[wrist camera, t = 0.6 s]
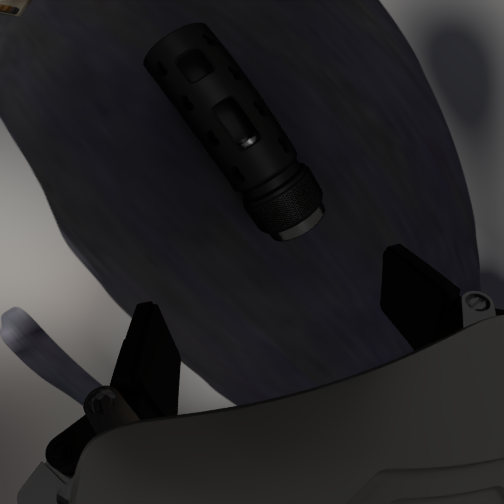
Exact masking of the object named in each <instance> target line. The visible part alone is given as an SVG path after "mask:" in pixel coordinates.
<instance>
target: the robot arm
mask: <svg viewBox="0 0 504 504" xmlns="http://www.w3.org/2000/svg"><path fill="white" fill-rule="evenodd" d="M459 294H460V289H459V288H458V287H457V286H455V285H454V284H453V283H452V282H450V281H449V280H448V279H447V278H445V277H444V276H443V275H442V274H440V273H439V272H438V271H436V270H435V269H434V268H432V267H431V266H430V265H428V264H427V263H426V262H424V261H423V260H422V259H420V258H419V257H418V256H416V255H415V254H414V253H412V252H411V251H409V250H408V249H407V248H405V247H404V246H402V245H401V244H396V245H392V246H389V247H387V248H386V251H384V253H383V271H382V287H381V300H380V306H381V309H382V311H383V312H384V314H385V315H386V316H387V317H388V318H389V319H390V321H391V322H392V323H393V324H394V326H395V327H396V328H397V329H398V330H399V332H400V333H401V334H402V335H403V337H404V338H405V339H406V340H407V342H408V343H409V344H410V345H411V347H412V348H413V349H414V350H415V351H413V352H411V353H409V354H406V355H404V356H402V357H399V358H397V359H394V360H392V361H390V362H387V363H384V364H382V365H379V366H377V367H374V368H371V369H369V370H366V371H363V372H361V373H358V374H355V375H352V376H349V377H346V378H343V379H340V380H337V381H334V382H331V383H328V384H324V385H321V386H318V387H314V388H311V389H307V390H304V391H300V392H296V393H292V394H288V395H284V396H280V397H276V398H272V399H268V400H263V401H259V402H254V403H249V404H244V405H239V406H234V407H228V408H222V409H216V410H210V411H204V412H197V413H189V414H182V415H177V413H178V395H179V379H180V365H181V358H180V354H179V351H178V349H177V347H176V345H175V343H174V341H173V338H172V336H171V334H170V332H169V330H168V327H167V325H166V323H165V320H164V318H163V316H162V314H161V311H160V309H159V307H158V305H157V304H153V303H152V302H151V301H150V302H145V303H140V304H137V306H136V309H135V312H134V314H133V317H132V320H131V323H130V326H129V329H128V332H127V335H126V338H125V339H124V341H123V344H122V347H121V350H120V353H119V356H118V359H117V363H116V366H115V369H114V372H113V376H112V379H111V383H110V386H101V387H98V388H96V389H94V390H93V391H91V392H90V393H89V394H88V395H87V397H86V398H85V401H84V406H83V408H84V412H85V414H86V415H84V416H83V417H82V418H80V419H79V420H78V421H76V422H75V423H74V424H72V425H71V426H70V427H68V428H67V429H66V430H64V431H63V432H62V433H60V434H59V435H58V436H56V437H55V438H53V439H52V440H51V441H50V443H49V444H48V446H47V448H46V459H47V461H46V463H43V462H41V463H40V464H39V465H38V467H37V468H36V469H35V471H34V472H33V473H32V475H31V476H30V477H29V478H28V480H27V481H26V483H25V484H24V485H23V486H22V488H21V489H20V490H19V492H18V496H17V501H18V504H504V310H501V309H495V308H494V303H493V301H492V299H491V298H490V297H489V296H488V295H486V294H484V293H482V292H478V291H470V292H467V293H465V294H464V295H463V297H460V296H459Z"/></svg>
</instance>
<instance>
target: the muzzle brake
mask: <svg viewBox="0 0 504 504" xmlns="http://www.w3.org/2000/svg"><path fill="white" fill-rule="evenodd" d="M204 57H205V58H206V59H204ZM143 65H144V67H145V68H146V69H147V71H148V72H149V73H150V75H151V76H152V77H153V78H154V79H155V81H156V82H157V83H158V85H159V86H160V88H161V89H162V91H163V92H164V93H165V95H166V96H167V97H168V99H169V100H170V101H171V103H172V104H173V105H174V107H175V108H176V109H177V110H178V112H179V113H180V114H181V116H182V117H183V119H184V120H185V122H186V123H187V124H188V126H189V127H190V129H191V130H192V131H193V133H194V134H195V135H196V137H197V138H198V139H199V140H200V142H201V143H202V145H203V146H204V147H205V149H206V150H207V152H208V153H209V155H210V156H211V158H212V159H213V160H214V162H215V163H216V165H217V166H218V167H219V169H220V170H221V171H222V173H223V174H224V175H225V177H226V178H227V180H228V181H229V182H230V184H231V186H232V187H233V189H234V190H235V191H237V192H241V193H242V194H243V196H244V198H243V203H244V208H245V210H246V211H247V213H248V214H249V215H250V217H251V218H252V220H253V221H254V223H255V224H256V225H257V227H258V228H259V229H260V230H261V231H263V232H265V233H268V234H270V235H271V237H272V238H273V239H274V240H276V241H281V242H282V241H288V240H292V239H295V238H297V237H299V236H301V235H303V234H305V233H307V232H308V231H309V230H311V229H312V228H313V227H314V226H316V225H317V224H318V222H319V221H320V220H321V219H322V217H323V215H324V213H325V207H324V205H323V203H322V196H323V193H322V190H321V188H320V186H319V184H318V182H317V181H316V179H315V177H314V175H313V174H312V172H311V170H310V169H309V167H307V166H305V164H304V163H299V162H298V161H297V159H296V156H297V152H296V150H295V148H294V147H293V145H292V143H291V142H290V140H289V139H288V137H287V135H286V134H285V132H284V131H283V129H282V128H281V126H280V124H279V123H278V121H277V120H276V118H275V117H274V115H273V114H272V112H271V111H270V109H269V108H268V106H267V105H266V103H265V102H264V100H263V99H262V98H261V96H260V95H259V93H258V92H257V90H256V89H255V88H254V86H253V85H252V83H251V82H250V81H249V79H248V78H247V76H246V75H245V74H244V72H243V71H242V70H241V68H240V67H239V66H238V64H237V63H236V62H235V60H234V59H233V58H232V56H231V55H230V54H229V52H228V51H227V50H226V49H225V47H224V46H223V45H222V44H221V42H220V41H219V40H218V38H217V37H216V36H215V35H214V34H213V32H212V31H211V30H210V29H209V27H208V26H207V25H206V24H204V23H193V24H189V25H186V26H183V27H181V28H179V29H177V30H175V31H173V32H171V33H170V34H168V35H167V36H165V37H164V38H162V39H161V40H160V41H159V42H158V43H156V44H155V45H154V46H153V47H152V48H151V50H150V51H149V52H148V53H147V55H146V57H145V59H144V63H143ZM190 104H193V106H191V105H190ZM246 115H247V116H248V117H246ZM212 133H213V134H214V136H213V135H212ZM215 138H217V139H218V141H217V140H216V139H215Z"/></svg>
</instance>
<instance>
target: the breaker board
mask: <svg viewBox="0 0 504 504" xmlns="http://www.w3.org/2000/svg"><path fill="white" fill-rule="evenodd" d="M31 1H32V0H0V13H2V14H8V15H13V16H18V17H20V16H21V15H22V13H23V12H24V11H25V9H26V8H27V6H28V5H29V3H30V2H31Z"/></svg>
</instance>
